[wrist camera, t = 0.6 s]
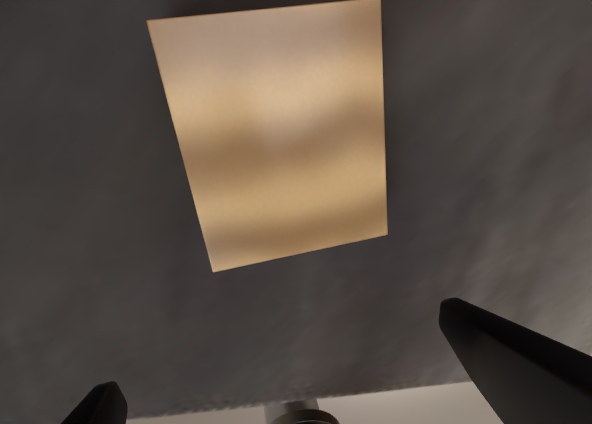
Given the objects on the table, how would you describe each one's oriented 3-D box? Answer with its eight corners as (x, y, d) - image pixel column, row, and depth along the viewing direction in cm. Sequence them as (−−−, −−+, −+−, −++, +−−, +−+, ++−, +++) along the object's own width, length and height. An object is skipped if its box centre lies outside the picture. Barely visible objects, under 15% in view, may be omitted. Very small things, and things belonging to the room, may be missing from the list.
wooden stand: (369, 220, 24) (387, 234, 21) (215, 252, 22) (212, 272, 19) (359, 13, 19) (381, -4, 16) (159, 34, 17) (145, 19, 14)
